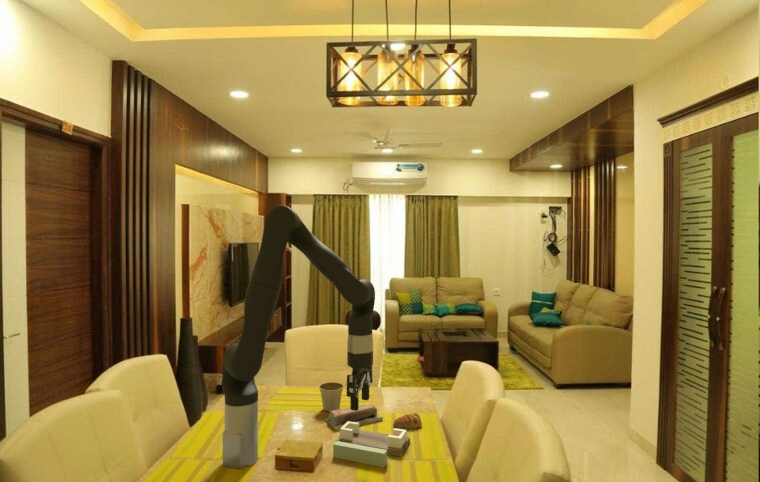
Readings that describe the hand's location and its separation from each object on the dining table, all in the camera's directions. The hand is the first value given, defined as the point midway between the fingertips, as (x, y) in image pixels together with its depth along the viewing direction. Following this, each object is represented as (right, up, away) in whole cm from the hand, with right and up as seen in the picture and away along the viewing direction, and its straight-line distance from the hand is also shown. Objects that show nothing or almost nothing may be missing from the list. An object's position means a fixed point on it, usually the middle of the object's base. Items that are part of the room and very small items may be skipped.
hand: (360, 404), depth 133 cm
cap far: (-4, -14, +13) cm, 20 cm away
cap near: (+11, -15, +8) cm, 20 cm away
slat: (0, -16, 0) cm, 16 cm away
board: (+4, -16, +10) cm, 19 cm away
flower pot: (-13, -16, +39) cm, 44 cm away
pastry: (+16, -16, +25) cm, 34 cm away
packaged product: (-3, -17, +29) cm, 33 cm away
